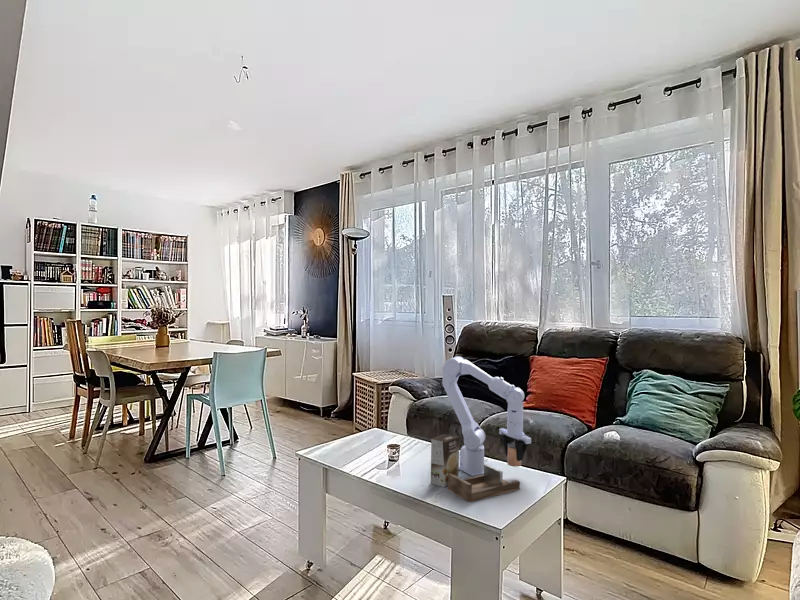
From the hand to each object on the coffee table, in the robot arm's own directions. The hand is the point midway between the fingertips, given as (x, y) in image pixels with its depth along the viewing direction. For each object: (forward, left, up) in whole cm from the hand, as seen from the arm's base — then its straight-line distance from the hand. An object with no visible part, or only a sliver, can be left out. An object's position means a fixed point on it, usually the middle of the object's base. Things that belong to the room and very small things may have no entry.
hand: (514, 458), depth 181 cm
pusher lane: (+3, -17, -7) cm, 19 cm away
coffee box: (-9, -25, -7) cm, 27 cm away
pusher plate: (+3, -13, -7) cm, 15 cm away
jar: (0, 0, -2) cm, 2 cm away
